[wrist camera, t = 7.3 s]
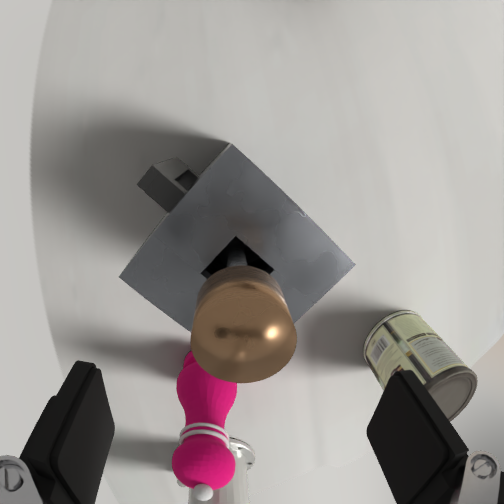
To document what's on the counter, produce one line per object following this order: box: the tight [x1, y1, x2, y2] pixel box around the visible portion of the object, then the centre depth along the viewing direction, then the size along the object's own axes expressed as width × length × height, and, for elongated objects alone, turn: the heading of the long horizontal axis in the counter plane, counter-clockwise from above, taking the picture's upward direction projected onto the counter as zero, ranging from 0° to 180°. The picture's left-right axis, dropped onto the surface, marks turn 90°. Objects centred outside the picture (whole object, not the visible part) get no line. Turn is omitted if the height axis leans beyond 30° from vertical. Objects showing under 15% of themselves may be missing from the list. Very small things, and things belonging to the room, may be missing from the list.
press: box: [119, 143, 356, 332], centre depth 25 cm, size 10×13×16 cm
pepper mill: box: [172, 351, 237, 501], centre depth 30 cm, size 7×7×20 cm
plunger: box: [190, 236, 297, 383], centre depth 20 cm, size 7×7×17 cm
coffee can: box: [363, 311, 477, 422], centre depth 35 cm, size 10×10×14 cm
